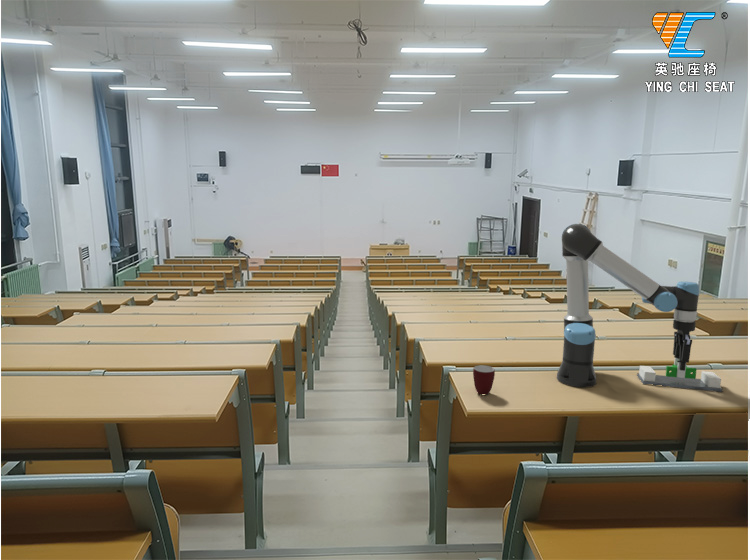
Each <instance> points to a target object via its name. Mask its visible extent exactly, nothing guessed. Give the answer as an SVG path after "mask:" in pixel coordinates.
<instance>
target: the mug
mask: <svg viewBox="0 0 750 560" xmlns="http://www.w3.org/2000/svg"><path fill="white" fill-rule="evenodd" d="M495 372H496V371H495V368H494V367H493V366H489V365H483V364H482V365H481V364H479V365H475V366H474V367H473V369H472V375H473V383H474V388H475V390H476V392H478V393H479V394H478V393H477V394H478V395H480V394H488V395H489V394H490V392H491V390H492V388H493V384H494V380H495V375H496V374H495Z"/></svg>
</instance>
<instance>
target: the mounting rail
mask: <svg viewBox="0 0 750 560" xmlns="http://www.w3.org/2000/svg"><path fill="white" fill-rule="evenodd" d="M636 376H638V377H637V378H638V379H639V381H640V380H641V381H640V382H641V383H643V384H642V385H646V384H653V385H652V386H656V385H662V386H661V387H666V386H670V388H677V389H678V388H679V389H689V390H698V391H700V390H701V391H708V392H709V391H710V392H720V393H722V392H723V388H722V387H721V383H722V378H721V377H720V376H718V375H717V374H716V373H715V372H713V371H704V370H701V373H700V378H696V379H692V378H679V377H667V376H666V375H660V374H656V371H655V370H654V369H653V367H652V366H649V365H639V370H638V373H636Z"/></svg>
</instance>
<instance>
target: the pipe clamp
mask: <svg viewBox="0 0 750 560" xmlns="http://www.w3.org/2000/svg"><path fill="white" fill-rule="evenodd" d="M677 368H678V366H676V365H674V364H671V366H670V365H666V368H665V376H667V377H677ZM685 378H692V379H697V368H696V367H688V366H687V365H686V371H685Z"/></svg>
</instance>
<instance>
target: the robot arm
mask: <svg viewBox="0 0 750 560" xmlns="http://www.w3.org/2000/svg"><path fill="white" fill-rule="evenodd" d="M561 243H562V244H561V246H562V247H561V249H562V250H561V251H562V254H561V255H562V257H563V259H565V261H566V262H565V263H566V265H565V267H566V297H567V298H566V304H567V305H566V306H567V310H566V311H567V314H565V315H564V317H563V346H562V347H563V348H562V360H561V361H562V362H561V364H560V366H559V368H558V370H557V373H556V380H557V381H558V382H560V383H562V384H564V385H567V386H571V387H575V388H592V387H594V386H596V384H597V376H596V375H597V374H596V372H595V368H594V354H595V344H596V342H595V341H596V338H597V337H596V336H597V334H596V330H595V328H594V324H593V323H594V320H593V319H594V317H593V316H592V315H591V314H590V310H589V309H590V307H589V306H590V305H589V303H590V302H589V301H590V300H589V292H590V291H589V262H591V263H592V264H594V265H595V266H597V267H598V268H599V269H601V270H602V271H604V272H605V273H606V274H608V275H610V276H611V277H612V278H614V279H615V280H617V281H618V282H619V283H621V284H623V285H624V286H625V287H627V288H628V289H629V290H631V291H633V292H634V293H636V294H637V295H638V296H639V297H641V300H642V302H643V304H644V303H645V304H650V305H652V306H654V307H655V309H657V310H658V311H660V312H663V313H669V312H672V311H674V312H673V318H674V319H673V323H672V328H673V329H674V330H676V331H673V332H674V333H673V336H674V337H673V349H672V350H673V351H672V355H673V358H674V361H673V365H676V366H678V368H677V377H679V378H685V371H686V366H687V364H689V362H690V357H691V350H692V348H691V347H692V343H693V340H692V339H691V335H690V333H691V332H694V331H696V324H697V322H696V321H697V316H698V314H699V313H698V305H699V304H698V303H699V296H700V284H698V283H697V282H693V281H678V282H677V284H676V285H675V286H668V285H661V284H660V283H658V282H657V281H654V280H653V279H652V278H651V277H649V276H648V275H646V274H645V273H643V272H642V271H640V270H639V269H637V268H636V267H634V265H632V264H630V263H629V262H627V261H626V260H624V259H623V258H621V257H620V256H619V255H617V254H616V253H615V252H613V251H612V250H610V249H609V248H607V247H605V245H604V244H603V241H602V240H600V239H599V238H597V237H596V236H595V235H594V233H592V231H591V230H590V228H589V227H588V226H587V225H584V224H582V223H574V224H570V225H568V226H566V227H565V229H563V232H562V234H561Z"/></svg>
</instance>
